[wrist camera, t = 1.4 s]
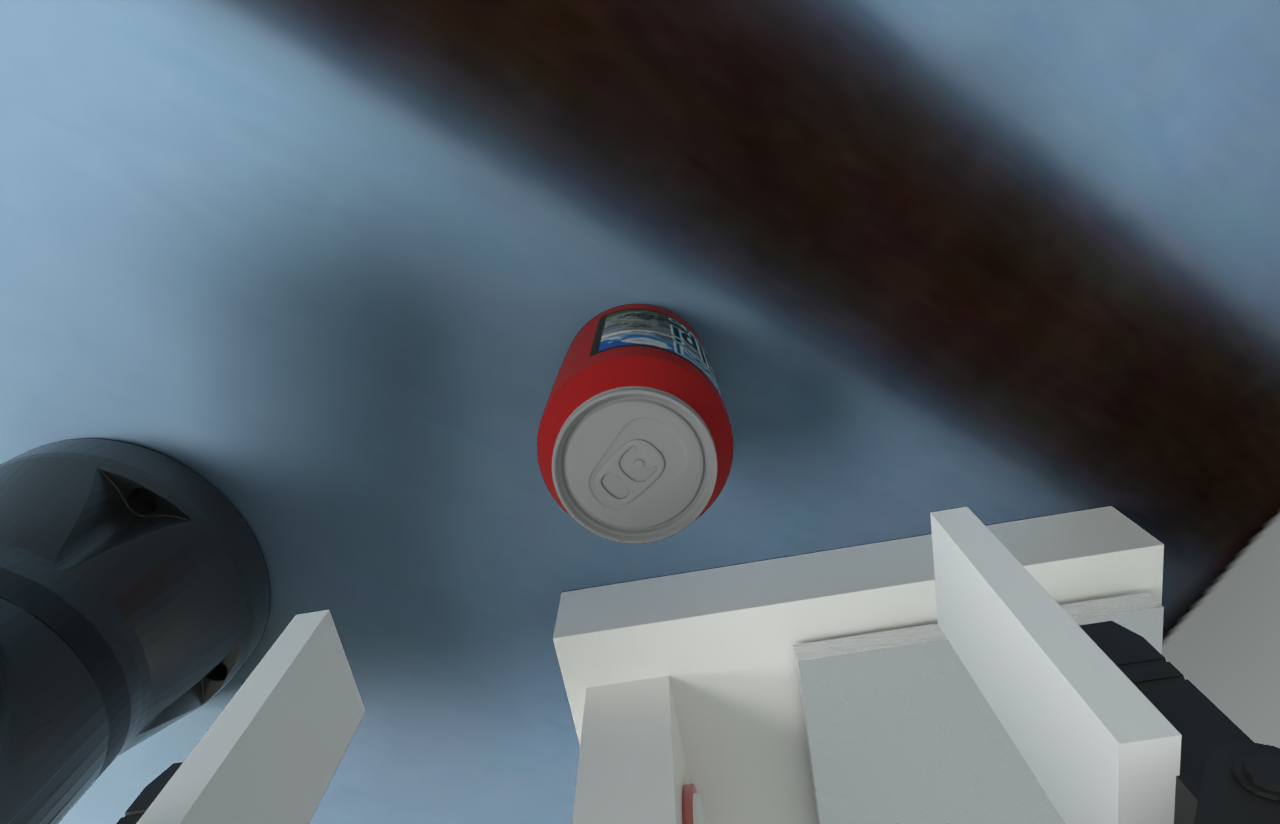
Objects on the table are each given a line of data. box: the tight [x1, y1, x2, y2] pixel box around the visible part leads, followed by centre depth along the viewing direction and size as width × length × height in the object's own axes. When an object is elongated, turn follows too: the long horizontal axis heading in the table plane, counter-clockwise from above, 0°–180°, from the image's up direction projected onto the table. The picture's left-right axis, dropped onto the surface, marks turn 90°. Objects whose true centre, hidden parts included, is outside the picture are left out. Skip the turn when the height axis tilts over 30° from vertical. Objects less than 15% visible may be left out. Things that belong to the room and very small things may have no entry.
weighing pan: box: [793, 592, 1164, 824], centre depth 37 cm, size 16×18×1 cm
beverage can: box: [537, 304, 733, 544], centre depth 30 cm, size 7×7×12 cm
